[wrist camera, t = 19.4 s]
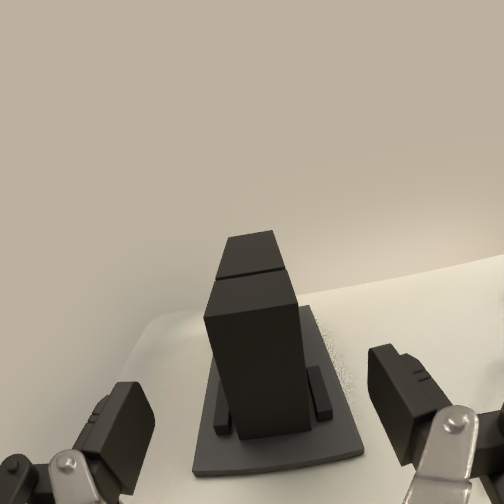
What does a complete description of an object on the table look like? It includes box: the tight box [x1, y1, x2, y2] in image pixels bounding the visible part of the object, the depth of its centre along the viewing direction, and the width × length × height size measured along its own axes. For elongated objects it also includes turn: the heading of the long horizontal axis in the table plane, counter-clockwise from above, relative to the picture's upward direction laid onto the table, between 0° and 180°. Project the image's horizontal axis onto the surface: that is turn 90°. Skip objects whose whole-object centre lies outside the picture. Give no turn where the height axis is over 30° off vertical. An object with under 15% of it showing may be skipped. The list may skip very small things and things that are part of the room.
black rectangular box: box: [203, 270, 312, 440], centre depth 18 cm, size 4×5×9 cm
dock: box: [192, 230, 364, 476], centre depth 23 cm, size 10×20×10 cm, turn 0°
